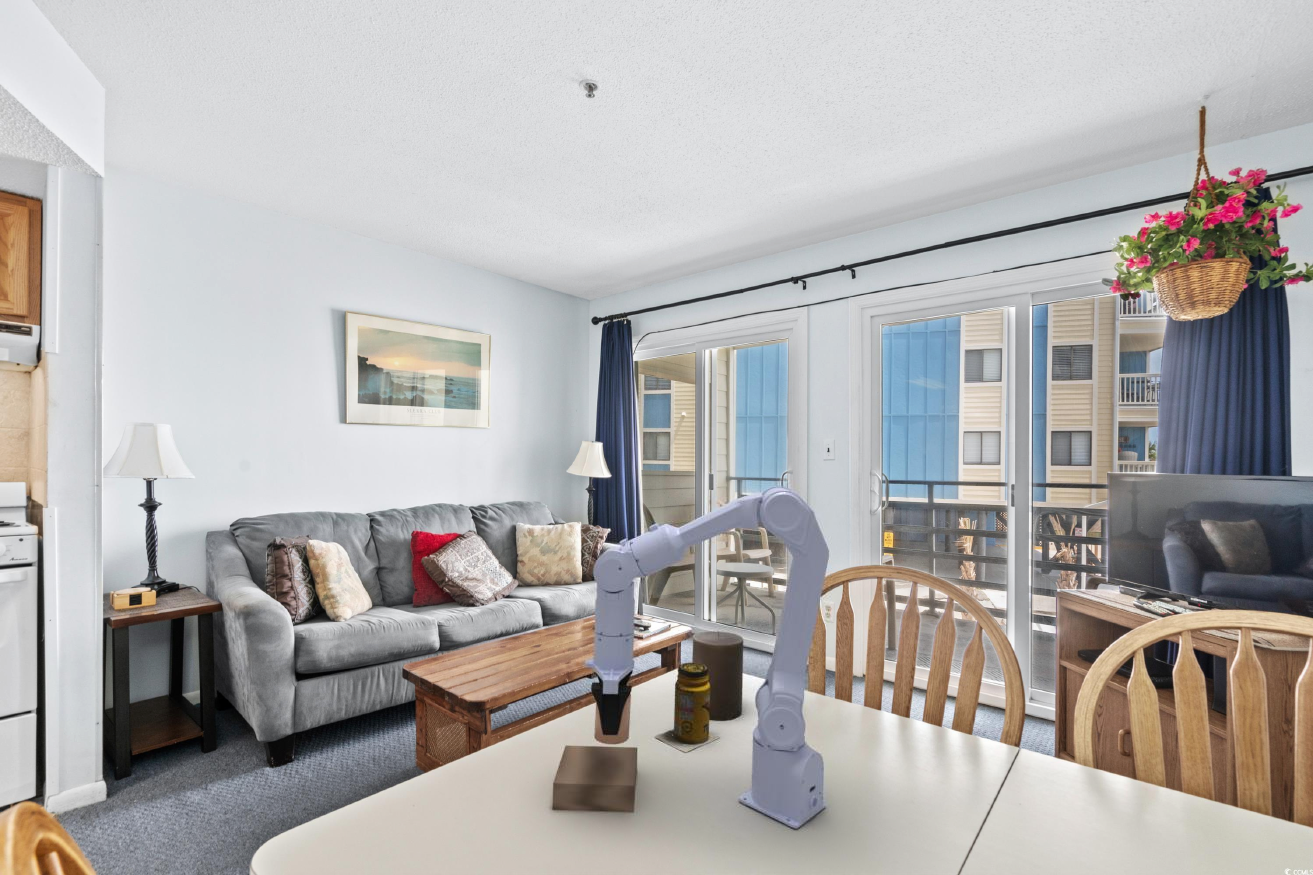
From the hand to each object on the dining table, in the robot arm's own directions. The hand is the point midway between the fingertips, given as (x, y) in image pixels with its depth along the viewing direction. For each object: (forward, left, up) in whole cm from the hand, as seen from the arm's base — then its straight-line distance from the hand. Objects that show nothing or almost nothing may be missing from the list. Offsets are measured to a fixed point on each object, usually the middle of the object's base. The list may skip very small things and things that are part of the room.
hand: (611, 725), depth 93 cm
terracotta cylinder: (0, 0, -2) cm, 2 cm away
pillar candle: (+7, -34, -9) cm, 36 cm away
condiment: (+3, -21, -9) cm, 23 cm away
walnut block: (+1, +1, -10) cm, 10 cm away
